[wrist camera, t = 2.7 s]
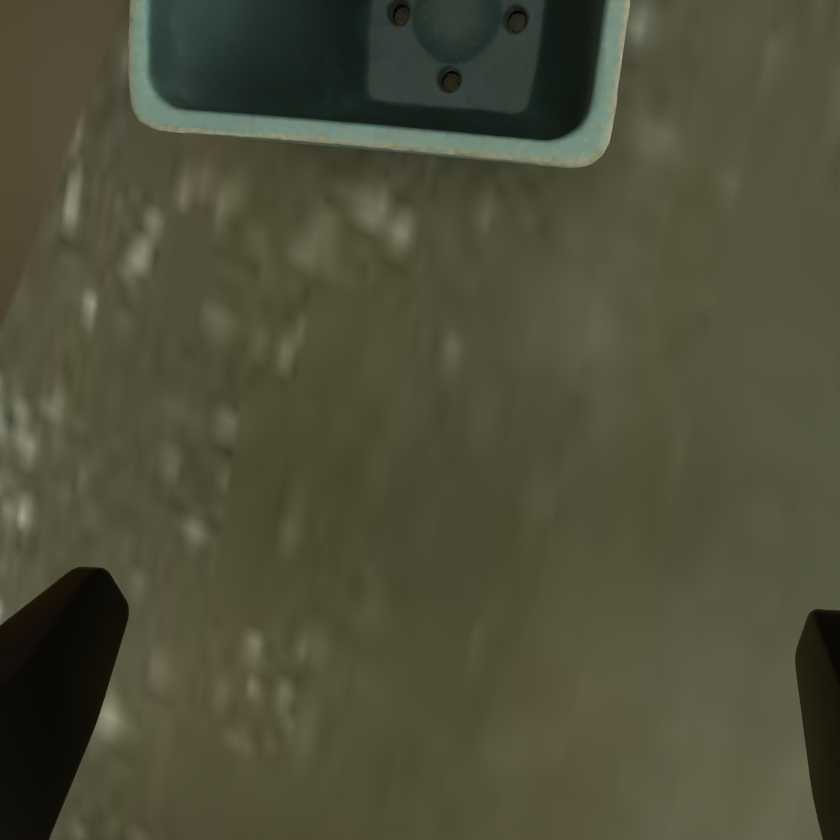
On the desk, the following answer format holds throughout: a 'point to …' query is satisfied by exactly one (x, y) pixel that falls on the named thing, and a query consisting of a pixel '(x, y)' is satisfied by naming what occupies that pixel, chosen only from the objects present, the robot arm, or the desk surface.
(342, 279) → the desk surface
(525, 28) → the flower pot
